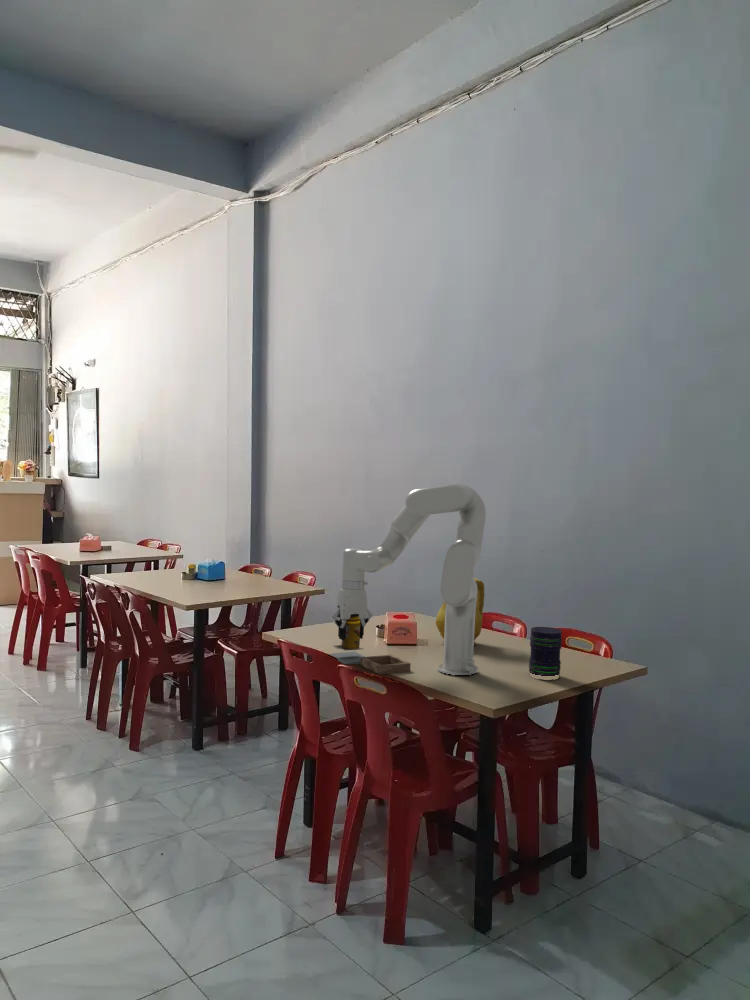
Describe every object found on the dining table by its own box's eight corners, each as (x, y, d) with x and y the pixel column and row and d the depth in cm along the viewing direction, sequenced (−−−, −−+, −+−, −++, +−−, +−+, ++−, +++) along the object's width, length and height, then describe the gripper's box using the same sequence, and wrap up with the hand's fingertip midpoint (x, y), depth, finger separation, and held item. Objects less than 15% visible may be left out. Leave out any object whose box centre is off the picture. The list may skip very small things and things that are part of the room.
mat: (372, 661, 256) (372, 660, 256) (345, 664, 251) (345, 662, 251) (354, 653, 268) (354, 651, 268) (328, 655, 263) (328, 653, 263)
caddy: (410, 671, 246) (410, 663, 246) (379, 674, 241) (379, 666, 241) (390, 662, 257) (391, 654, 257) (360, 664, 251) (360, 657, 251)
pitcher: (432, 638, 297) (434, 573, 296) (480, 640, 297) (483, 575, 297) (437, 648, 279) (440, 580, 279) (488, 650, 280) (491, 581, 279)
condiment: (364, 649, 258) (365, 614, 257) (341, 651, 254) (343, 615, 253) (354, 644, 264) (355, 609, 264) (331, 646, 260) (333, 611, 260)
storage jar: (556, 673, 251) (558, 627, 250) (563, 681, 241) (565, 633, 241) (525, 671, 251) (527, 626, 250) (531, 680, 241) (533, 632, 241)
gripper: (370, 582, 266) (368, 634, 267) (324, 584, 258) (322, 637, 258) (380, 586, 260) (378, 639, 260) (334, 587, 251) (332, 642, 252)
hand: (350, 638), depth 259 cm, fingers closed on condiment, 6 cm apart
